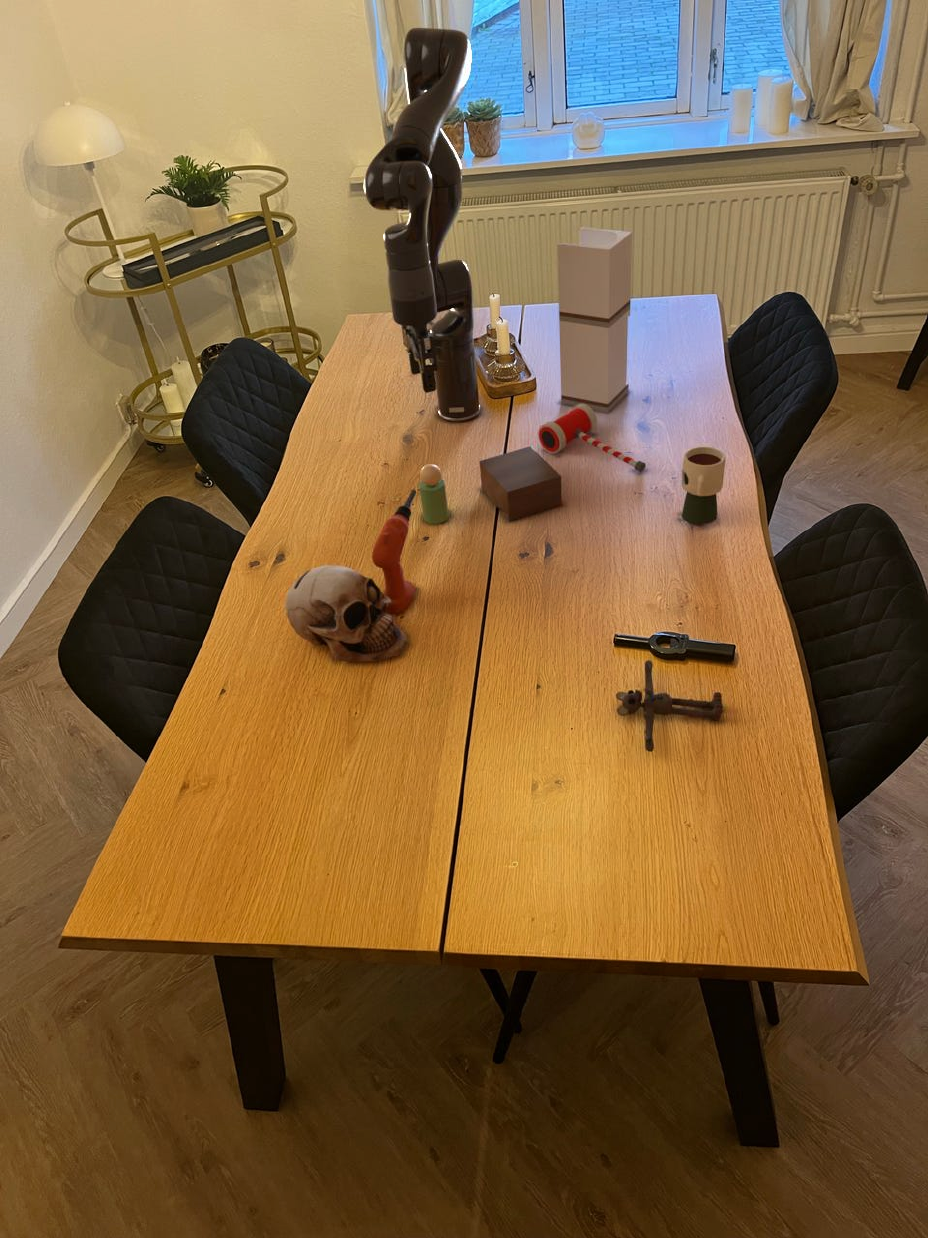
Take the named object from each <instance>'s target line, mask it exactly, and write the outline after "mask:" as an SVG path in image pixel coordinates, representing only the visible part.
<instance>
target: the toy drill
mask: <svg viewBox="0 0 928 1238" xmlns="http://www.w3.org/2000/svg"><path fill="white" fill-rule="evenodd" d="M416 495H417V490H416V489H411V491H410V492H409V495H408V497H407V498H406V500H405V502H404V504H403V505H400V506H398V507H397V509H396V511H395V512H394V514H392V515H391V516H390V518H388V519H386V521H385V523H384V525H383V526H382V528H381V530H380V532H379V534H378V536H377V537H376V540H375V542H374V546H373V547H372V552H371V553H372V554H371V559H372V563H373V565H374V566H375V567H377V568H380V569H381V570H382V574H383V577H384V583H385V584H384V585H385V586H384V587H385V591H384V592H383V594H385V595H386V596H387V597H389V598H390V600H391V605H390V606H388V607H387V609H386V613H387V614H399V613H402V612H404V611H405V610H407V608H408V607H409V606H410V605H411V603H412V601H413V600H414V598H415V594H416V587H415V585H414V583H413V582H411V581H408V580H405V574H404V570H403V566H402V564H401V557H402V555H403V551H404V548H405V543H406V540H407V537H408V534H409V526H410V523H409V522H410V518H411V516H412V510H411V506H412V503H413V501H414V500H415V496H416Z"/></svg>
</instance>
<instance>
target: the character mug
mask: <svg viewBox="0 0 928 1238" xmlns="http://www.w3.org/2000/svg"><path fill="white" fill-rule="evenodd" d="M682 458H683V459H682V469H681V470H682V471H681V487H682V488H683V490H684V491H686V494H685V498H684V502H683V507H682V513H681V518H682V519H683V521H684V522H686V523H688V524H689V525H707V524H712V523H714V522H715V521H716V520H717V519H718V498H717V494H719V493H720V492H721V491H722V490H723V486H724V479H725V470H726V469H725V468H726V460H727V459H726V458H727V457H726V454H725V452H724V451H722V450H721V449H719V448H717V447H715V446H708V445H701V446H700V445H699V446H694V447H691V448H689V449H686V451H685V452H684V453H683V457H682Z"/></svg>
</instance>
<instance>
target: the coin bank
mask: <svg viewBox="0 0 928 1238" xmlns="http://www.w3.org/2000/svg"><path fill="white" fill-rule="evenodd" d="M390 605H391V600H390V598H389V597H387V596H386V595H385V594H384V592H383V591H381V589H380V587H379V586H378V585H377V584H376V582H375V581H374V580H373V578H372V577H366V576H365V575H363V574H362V573H360V572H358V571H357V570H354V569H353V568H351V567H348V566H344V565H337V564H336V565H335V564H330V565H329V564H327V565H326V564H325V565H321V566H316V567H313V568H310V569H308V570H307V571H305V572H303V573H302V574H301V575H299V577H297V579H296V580H295V581H294V582H293V583H292V584H291V586H290V588H289V589H288V592H287V593H286V597H285V611H286V615H287V619H288V621H289V624H290V626H291V627H292V629H293V631H294V632H295V633H296V634H297V635H298V636H299V637H300V638H302V639H304V640H306V641H308V642H309V643H311V644H312V645H314V646H325V647H328V648H329V650H330V652H331V654H332V656H333V658H334V659H335V660H337V661H344V662H345V661H347V662H353V663H354V662H355V663H359V662H361V663H367V662H374V663H377V662H381V661H385V660H387V659H391V658H392V657H397V656H399V655H401V654H402V653H403V651H404V649H405V648H406V647H407V645H408V639H407V638H408V637H407V636H406V634H405V633H404V631H402V629H401V628H400V627H399V626H398V625H397V623H396V621H395V619H394V618H393V616H392V615H391V614H389V613H388V612H386V609H387V607H388V606H390Z"/></svg>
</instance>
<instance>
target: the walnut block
mask: <svg viewBox="0 0 928 1238" xmlns="http://www.w3.org/2000/svg"><path fill="white" fill-rule="evenodd" d="M479 471H480V482H481V491H483V492H484V494H485V495H486V496H487V497H488V498H489V500H490V501H491V502H492V503H493V504H494V505H495V506H496V508H497V509H498V510H499V511H500V512H501V513H502V515H503V516H504V517H505V518H506V519H507V521H508V522H513V521H516V520H519V519H522V518H526V517H529V516H532V515H535V514H538V513H542V512H545V511H548V510H551V509H554V508H558V507H561V506H562V505H563V501H562V500H563V499H562V498H563V496H562V475H561V474H560V473H559V472H558V471H557V470H556V469H554V467H553V466H552V465H550V463H548V461H547V460H545V458H544V457H542V455H540V453H539V452H537V450H536V449H534V448H533V446H531V445H530V446H526V447H522V448H519V449H516V450H513V451H509V452H505V453H502V454H497V455H495V456H492V457H489V458H486V459H481V460H479Z"/></svg>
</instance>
